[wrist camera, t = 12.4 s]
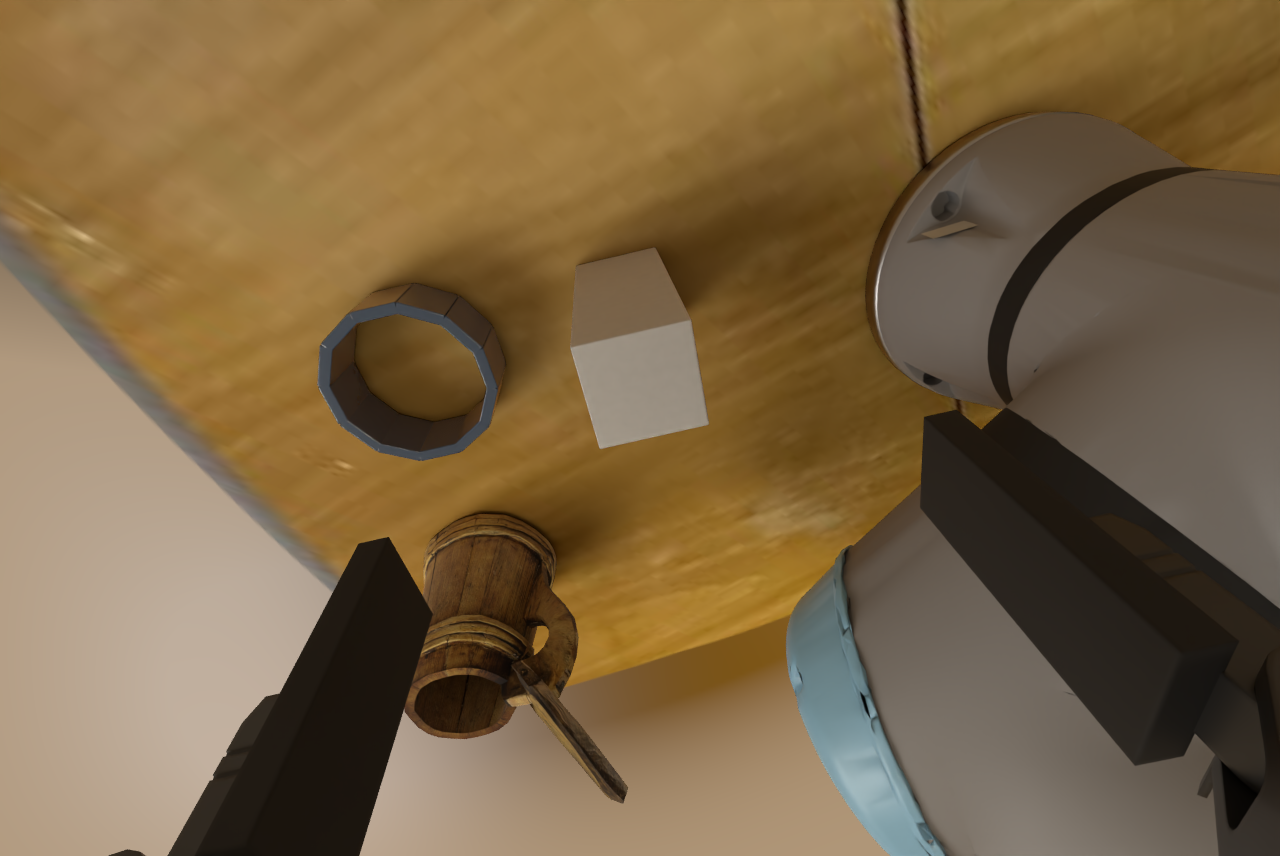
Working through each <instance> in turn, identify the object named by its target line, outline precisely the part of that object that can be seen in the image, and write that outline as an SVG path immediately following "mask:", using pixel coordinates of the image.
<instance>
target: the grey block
mask: <svg viewBox="0 0 1280 856" xmlns="http://www.w3.org/2000/svg"><path fill="white" fill-rule="evenodd" d="M570 349H571V352H572V355H573V359H574V362H575V366H576V369H577V372H578V376H579V379H580V383H581V386H582V390H583V393H584V396H585V400H586V403H587V407H588V410H589V414H590V417H591V420H592V424H593V427H594V431H595V434H596V437H597V441H598V444H599V448H600V449H602V448H607V447H611V446H616V445H620V444H625V443H629V442H634V441H638V440H643V439H647V438H652V437H656V436H660V435H665V434H669V433H674V432H678V431H683V430H687V429H692V428H696V427H701V426H705V425H709V420H708V414H707V408H706V403H705V397H704V391H703V385H702V379H701V373H700V368H699V362H698V356H697V350H696V344H695V338H694V333H693V327H692V321H691V319H690V317H689V315H688V312H687V310H686V308H685V306H684V304H683V302H682V300H681V298H680V296H679V294H678V292H677V290H676V288H675V286H674V284H673V282H672V280H671V278H670V276H669V274H668V272H667V270H666V268H665V266H664V264H663V262H662V260H661V258H660V256H659V254H658V252H657V250H656V248H655V247H654V248H650V249H646V250H641V251H637V252H633V253H629V254H624V255H620V256H616V257H612V258H607V259H603V260H599V261H595V262H590V263H586V264H582V265H578V266H576V273H575V288H574V303H573V318H572V332H571V347H570Z"/></svg>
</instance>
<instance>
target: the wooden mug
mask: <svg viewBox="0 0 1280 856" xmlns="http://www.w3.org/2000/svg"><path fill="white" fill-rule="evenodd" d="M556 565H557V563H556V555H555V552H554V549H553V547H552V546H551V544H550V543H549V541H548V540H547V539H546V538H545V537H543V536H542V535H541V534H540V533H539V532H538V531H537V530H535V529H534V528H532V527H531V526H529V525H528V524H526V523H524V522H523V521H521V520H518V519H516V518H513V517H510V516H508V515H505V514H477V515H474V516H469V517H465V518H462V519H460V520H458V521H455V522H453V523H452V524H451V525H449V526H448V527H446V528H445V529H443V530H442V531H441V532H440V533H438V534H437V535H436V536H435V537H434V538H433V539H431V540H430V543H429V545H428V547H427V550H426V552H425V557H424V568H423V578H424V592H423V597H424V599H425V601H426V603H427V604H428V606H429V608H430V610H431V611H432V613H433V616H432V619H431V622H430V626H429V629H428V632H427V635H426V639H425V642H424V645H423V649H422V652H421V655H420V658H419V662H418V665H417V668H416V671H415V675H414V678H413V681H412V685H411V688H410V691H409V694H408V698H407V701H406V704H405V713H406V714H407V715H408V716H409V718H410V719H411V720H412V721H413V722H414V723H415V724H416V725H417V727H418V728H420V729H422V730H423V731H425V732H426V733H428V734H431V735H434V736H437V737H442V738H454V739H467V738H474V737H478V736H482V735H486V734H489V733H492V732H494V731H497V730H499V729H500V728H501V727H503V726H504V725H505V724H507V723H508V721H509V720H510V718H511V716H512V714H513V713H514V710H515V709H516V706H520V705H526V704H530V705H531V707H532V708H533V709H534V711H535V712H536V713H537V715H538V716H539V717H540V718H541V719H542V720H543V722H544V723H545V724H546V725H547V726H548V728H549V729H550V730H551V731H552V733H553V734H554V735H555V736H556V737H557V739H558V740H559V741H560V742H561V743H562V744H563V746H564V747H565V748H566V749H567V750H568V752H569V753H570V754H571V755H572V756H573V757H574V758H575V759H576V761H577V762H578V763H579V764H580V765H581V766H582V768H583V769H584V770H585V772H586V773H587V774H588V775H589V776H590V778H591V779H592V780H593V781H594V782H595V783H596V784H597V786H598V787H599V788H600V789H601V790H602V791H603V793H604V794H605V795H606V796H607V797H608V798H610V799H611V800H614V801H617V802H620V803H624V799H625V796H626V793H627V790H628V787H627V785H626V784H625V783H624V781H623V780H622V779H621V778H620V776H619V775H618V773H617V772H616V771H615V770H614V768H613V767H612V766H611V764H610V763H609V762H608V760H607V759H606V758H605V756H604V755H603V754H602V753H601V751H600V750H599V749H598V747H597V746H596V745H595V743H594V742H593V741H592V739H591V738H590V737H589V735H588V734H587V733H586V732H585V730H584V729H583V728H582V726H581V725H580V724H579V723H578V721H577V720H576V719H575V718H574V717H573V716H572V715H571V714H570V713H569V712H568V710H567V709H566V708H565V707H564V706H563V704H562V703H561V702H560V701H559V699H558V698H559V697H560V695H561V692H562V690H563V688H564V687H565V685H566V683H567V681H568V679H569V677H570V675H571V672H572V669H573V666H574V663H575V660H576V656H577V647H578V633H577V628H576V623H575V618H574V617H573V615H572V614H571V613H570V611H569V610H568V608H567V607H566V605H565V604H564V603H563V602H562V601H561V600H560V599H559V598H558V597H557V596H556V595H555V594H554V593H553V592H552V590H551V588H552V584H553V581H554V577H555V571H556ZM537 626H546V627H547V628H548V629H549V637H548V639H547V641H546V643H545V645H544V647H543V648H542V649H541V650H540V651H539V652H538V653H537V654H535V655H534V649H533V647H532V645H533V641H534V638H535V634H536V630H537Z"/></svg>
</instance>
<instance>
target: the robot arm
mask: <svg viewBox="0 0 1280 856" xmlns="http://www.w3.org/2000/svg"><path fill="white" fill-rule="evenodd" d="M865 297H866V310H867V316H868V321H869V325H870V328H871V331H872V334H873V336H874V338H875V341H876V342H877V344H878V346H879V348H880V349H881V351H882V352H883V353H884V355H885V356H886V357H887V359H888V360H889V361H890V362H891V363H892V364H893V365H894V366H896V367H897V368H898V369H899V370H900V371H901V372H903V373H904V374H905V375H906V376H908V377H909V378H910V379H911V380H913V381H914V382H916V383H918V384H919V385H921V386H923V387H925V388H927V389H930V390H932V391H934V392H936V393H938V394H941V395H944V396H948V397H951V398H955V399H960V400H964V401H968V402H973V403H977V404H981V405H986V406H990V407H994V408H999V409H1003V410H1002V411H1001V412H1000V413H999V414H998V415H997V416H996V417H995V418H993V419H992V420H991V421H990V422H989V423H988V424H987V425H986V426H985V427H984V428H983V429H982V430H981V429H979V428H978V427H977V426H976V425H974V424H973V423H972V422H971V421H970V420H968V419H967V418H966V417H965V416H963V415H962V414H961V413H960V412H959V411H957V410H953V411H949V412H944V413H940V414H936V415H931V416H927V417H924V430H923V451H922V473H921V485H920V486H918V487H917V488H916V489H915V490H914V491H913V492H912V493H911V494H910V495H909V496H907V497H906V498H905V499H904V500H903V501H902V502H901V503H900V504H899V505H898V506H897V507H895V508H894V509H893V510H892V511H891V512H890V513H889V514H888V515H887V516H886V517H885V518H883V519H882V520H881V521H880V522H879V523H878V524H877V525H876V526H875V527H874V528H872V529H871V530H870V531H869V532H868V533H867V534H866V535H865V536H864V537H863V538H862V539H860V540H859V541H858V542H857V543H856V544H855V545H854V546H852V545H850V546H848V547H846V548H845V549H843V550H842V551H841V552H840V554H839V556H838V557H837V558H836V560H835V564H834V565H833V566H832V567H831V568H830V569H829V570H828V571H827V572H826V573H825V574H824V576H823V577H822V578H821V579H820V580H819V581H818V582H817V583H816V584H815V585H814V586H813V587H812V588H811V589H810V590H809V591H808V592H807V593H806V594H805V595H804V596H803V597H802V598H801V599H800V601H799V602H798V603H797V605H796V606H795V608H794V610H793V612H792V614H791V617H790V620H789V624H788V629H787V636H786V656H787V663H788V671H789V676H790V680H791V683H792V686H793V688H794V692H795V694H796V697H797V702H798V709H799V712H800V714H801V717H802V720H803V722H804V724H805V727H806V729H807V732H808V734H809V736H810V738H811V741H812V743H813V745H814V747H815V749H816V751H817V753H818V755H819V757H820V759H821V761H822V763H823V765H824V767H825V769H826V770H827V772H828V774H829V776H830V778H831V779H832V781H833V782H834V784H835V786H836V787H837V789H838V791H839V792H840V794H841V795H842V797H843V798H844V800H845V801H846V803H847V804H848V806H849V807H850V809H851V810H852V811H853V813H854V814H855V816H856V817H857V818H858V820H859V821H860V822H861V823H862V825H863V826H864V827H865V829H866V830H867V831H868V832H869V833H870V835H871V836H872V837H873V838H874V839H875V841H876V842H877V843H878V844H879V845H880V846H881V847H882V848H883V849H884V850H885V851H886V852H887V853H888V854H889V855H890V856H1280V175H1271V174H1260V173H1248V172H1237V171H1225V170H1214V169H1204V168H1193V167H1190V166H1189V165H1187V164H1185V163H1184V162H1182V161H1180V160H1179V159H1177V158H1175V157H1174V156H1172V155H1171V154H1169V153H1167V152H1166V151H1164V150H1162V149H1161V148H1159V147H1157V146H1156V145H1154V144H1152V143H1151V142H1149V141H1147V140H1145V139H1144V138H1142V137H1140V136H1138V135H1137V134H1135V133H1134V132H1132V131H1131V130H1129V129H1128V128H1126V127H1124V126H1122V125H1120V124H1118V123H1115V122H1113V121H1110V120H1107V119H1103V118H1099V117H1096V116H1093V115H1089V114H1083V113H1077V112H1033V113H1025V114H1020V115H1015V116H1011V117H1008V118H1004V119H1001V120H998V121H995V122H993V123H990V124H988V125H985V126H983V127H981V128H979V129H977V130H975V131H973V132H971V133H970V134H968V135H966V136H965V137H963V138H961V139H960V140H958V141H957V142H955V143H954V144H952V145H951V146H950V147H948V148H947V149H945V150H944V151H943V152H942V153H940V154H939V155H938V156H937V157H936V158H935V159H933V160H932V161H931V162H930V163H929V164H928V165H927V166H926V167H925V168H924V169H923V170H922V171H921V172H920V173H919V174H918V175H917V176H916V177H915V178H914V180H913V181H912V182H911V183H910V184H909V185H908V187H907V188H906V189H905V191H904V192H903V193H902V195H901V196H900V197H899V199H898V200H897V202H896V203H895V205H894V206H893V208H892V210H891V211H890V213H889V215H888V216H887V218H886V220H885V222H884V224H883V226H882V228H881V230H880V233H879V235H878V238H877V240H876V242H875V245H874V248H873V251H872V255H871V258H870V263H869V267H868V272H867V279H866V294H865ZM432 616H433V613H432V611H431V610H430V608H429V606H428V604H427V603H426V601H425V599H424V597H423V596H422V594H421V592H420V591H419V589H418V587H417V585H416V584H415V582H414V580H413V578H412V577H411V575H410V573H409V571H408V570H407V568H406V566H405V564H404V563H403V561H402V559H401V557H400V556H399V554H398V552H397V551H396V549H395V547H394V545H393V544H392V542H391V540H390V538H389V537H387V538H382V539H378V540H373V541H369V542H364V543H360V544H358V546H357V548H356V550H355V552H354V553H353V555H352V557H351V559H350V561H349V563H348V565H347V567H346V569H345V571H344V572H343V574H342V576H341V578H340V580H339V582H338V584H337V586H336V588H335V590H334V591H333V593H332V595H331V597H330V599H329V601H328V603H327V605H326V607H325V609H324V610H323V613H322V615H321V616H320V618H319V620H318V622H317V624H316V626H315V628H314V630H313V632H312V633H311V635H310V637H309V639H308V641H307V643H306V645H305V647H304V648H303V651H302V652H301V654H300V656H299V658H298V660H297V662H296V664H295V666H294V668H293V669H292V671H291V673H290V675H289V677H288V679H287V681H286V683H285V685H284V686H283V688H282V690H281V692H280V694H276V695H271V696H266V697H265V698H264V699H263V700H262V701H261V703H260V704H259V705H258V706H257V707H256V708H255V709H254V710H253V712H252V713H251V714H250V715H249V716H248V717H247V718H246V719H245V721H244V722H243V723H242V724H241V726H240V728H239V730H238V732H237V733H236V735H235V737H234V739H233V741H232V742H231V744H230V746H229V748H228V749H227V755H226V757H223V758H222V760H221V762H220V764H219V765H218V767H217V769H216V771H215V772H214V774H213V776H214V778H213V780H212V781H209V783H208V785H207V787H206V788H205V790H204V792H203V794H202V796H201V798H200V799H199V801H198V803H197V804H196V806H195V808H194V810H193V811H192V813H191V815H190V817H189V819H188V820H187V822H186V824H185V826H184V828H183V830H182V831H181V833H180V835H179V837H178V838H177V840H176V842H175V843H174V845H173V847H172V849H171V851H170V852H169V854H168V856H359V855H360V851H361V848H362V845H363V841H364V838H365V835H366V832H367V828H368V825H369V822H370V818H371V815H372V812H373V809H374V806H375V802H376V799H377V796H378V792H379V789H380V785H381V782H382V779H383V776H384V773H385V770H386V766H387V763H388V760H389V756H390V753H391V750H392V747H393V743H394V740H395V737H396V734H397V730H398V727H399V724H400V720H401V717H402V714H403V710H404V707H405V704H406V701H407V698H408V694H409V691H410V688H411V685H412V681H413V678H414V675H415V671H416V668H417V665H418V662H419V658H420V655H421V652H422V649H423V645H424V642H425V639H426V635H427V632H428V629H429V626H430V622H431V619H432ZM109 856H145V855H144V854H143V853H141V852H139V851H133V850H124V851H121V852H118V853H115V854H112V855H109Z"/></svg>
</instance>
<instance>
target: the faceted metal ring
mask: <svg viewBox="0 0 1280 856" xmlns="http://www.w3.org/2000/svg"><path fill="white" fill-rule="evenodd" d="M395 314H400V315H404V316H408V317H411V318H415V319H419V320H423V321H426V322H430V323H434V324H438V325H441V326H442V327H443V328H444V329H445V330H447V331H448V332H449V333H450V334H451V335H452V336H454V337H455V338H456V339H457V340H458V341H459V342H461V343H462V344H463V345H464V346H465V347H466V348H468V349H469V350H470V351H471V352H472V353H473V354H474V357H475V360H476V362H477V365H478V367H479V370H480V373H481V375H482V378H483V380H484V383H485V385H486V393H485V398H484V399H483V400H482V401H481V402H480V403H478V404H477V405H476V406H475V407H474V408H473V409H472V410H471V411H470V412H469V413H468V414H467V415H464V416H459V417H455V418H450V419H446V420H442V421H437V422H431V421H427V420H423V419H418V418H414V417H410V416H405V415H401V414H398V413H397V412H395V411H394V410H393V409H391V408H390V407H389V406H387V405H386V404H385V403H383V402H382V401H381V400H379V399H378V398H377V397H375V396H374V395H373V394H371V393H370V392H369V390H368V388H367V386H366V384H365V382H364V380H363V378H362V376H361V374H360V372H359V370H358V368H357V366H356V364H355V362H354V353H355V342H356V331H357V327H358V326H359V325H360V324H361V322H365V321H369V320H374V319H378V318H382V317H386V316H391V315H395ZM505 368H506V361H505V358H504V355H503V352H502V350H501V347H500V344H499V341H498V339H497V336H496V333H495V330H494V327H493V326H492V324H491V323H489V322H488V321H487V320H486V319H485V318H484V317H483V316H482V315H481V314H479V313H478V312H477V311H476V310H475V309H474V308H473V307H472V306H471V305H469V304H468V303H467V302H466V301H465V300H464V299H463V298H462V297H461V296H459V297H458V295H457V294H453V293H449V292H446V291H442V290H439V289H435V288H431V287H428V286H424V285H421V284H417V283H415V284H414V283H411V284H406V285H402V286H398V287H394V288H390V289H385V290H381V291H377V292H373V293H372V294H370V295H369V296H368V297H366V298H365V299H364V300H363V301H362V302H361V303H359V304H358V305H357V306H356V307H355V308H354V309H352V310H351V311H350V312H349V313H348V314H347V315H346V316H345V317H344V318H343V319H342V320H341V322H340V323H339V324H338V325H337V326H336V327H335V328H334V329H333V330H332V332H331V333H330V334H329V335H328V336H327V337H326V338H325V339H324V340H323V342H322V343H321V345H320V352H319V368H318V384H317V385H318V386H319V387H318V388H319V390H320V392H321V393H322V395H323V397H324V399H325V401H326V402H327V404H328V406H329V408H330V410H331V411H332V413H333V415H334V417H335V419H336V420H337V422H338V424H340V426H341V427H343V428H344V429H345V430H347V431H348V432H350V433H351V434H352V435H354V436H355V437H357V438H358V439H360V440H361V441H362V442H364V443H365V444H367V445H368V446H370V447H371V448H372V449H374V450H375V451H377V450H378V452H380V453H385V454H390V455H394V456H399V457H404V458H408V459H413V460H418V461H420V460H422V461H424V460H428V459H433V458H437V457H441V456H446V455H450V454H455V453H459V452H461V451H463V450H464V449H465V448H467V447H468V446H469V445H470V444H471V443H472V442H473V441H474V440H475V439H476V438H477V437H479V436H480V435H481V434H482V433H483V432H484V431H485V430H486V429H487V428H488V427H489V425H490V424H491V421H492V418H493V414H494V411H495V408H496V405H497V401H498V398H499V394H500V390H501V385H502V381H503V377H504V372H505Z"/></svg>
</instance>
